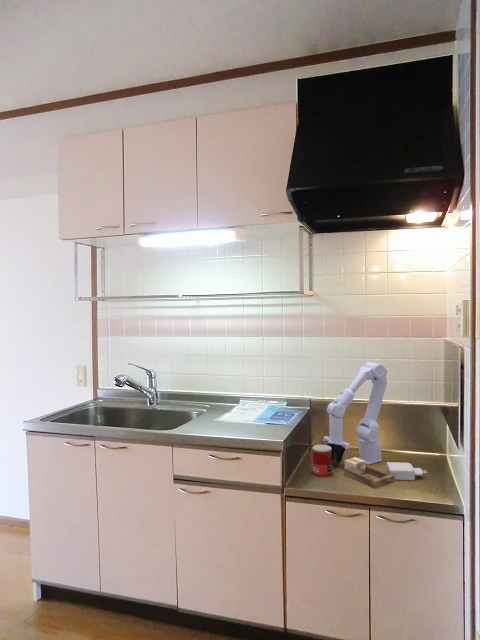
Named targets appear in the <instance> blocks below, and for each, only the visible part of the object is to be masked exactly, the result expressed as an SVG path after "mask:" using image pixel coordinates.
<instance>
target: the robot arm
mask: <svg viewBox="0 0 480 640" xmlns="http://www.w3.org/2000/svg"><path fill="white" fill-rule="evenodd" d="M387 373H388V370H387V368H386V367H385V365H384V364H383V363H377V362H372V361H370V360H369V361H365V362H364V363H363V364H362V366H361V367H360V368H359V372H358V373H357V374H356V376H355V377H354V379H353V380H352V382H351V383H350V385H349V386H348V387H347V388H343V389H341V390H340V392H339V394H338V395H337V397H336V398H335V399H333V401H332V402H330V403H329V404H328V405H327V407H326V412H327V414H328V418H329V419H328V421H329V422H328V423H329V424H328V425H329V429H328V430H329V436H328V435H325V436H323V442H327V444H326V445H327V446H330V447H331V448H332V462H334V452H336V461H337V462H338V463H339V462H340V463H342V460H343V455H344V453H345V452H346V450H349V449H350V448H351V444H350V443H349V442H348V441H346V440H344V426H343V425H344V423H343V421H344V419H343V417H344V415H345V414H346V409H347V407H348V406H349V405H350V403H351V402H352V400H354V399H355V393H356V391H358V390H359V389H360V388H361V386H362V385H363V384H364V383H365V382H366V381H371V383H372V387H371V392H370V395H369V399H368V402H367V405H366V406H367V407H366V409H365V414H364V416H363V418H362V419H360V421H359V423H358V425H357V426H356V428H355V434H356V436H357V437H358V457H357V458H358V459H361V460H364V461H366V465H371V464H375V463H378V462H382V461H383V459H382V445H381V443H380V441H379V440H378V439H379V437H380V435H379V434H380V433H379V430H380V425H378V422H377V421H378V417H379V414H380V410H381V407H382V403H383V399H384V396H385V392H386V388H387V384H388V383H387V382H388V381H387Z"/></svg>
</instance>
